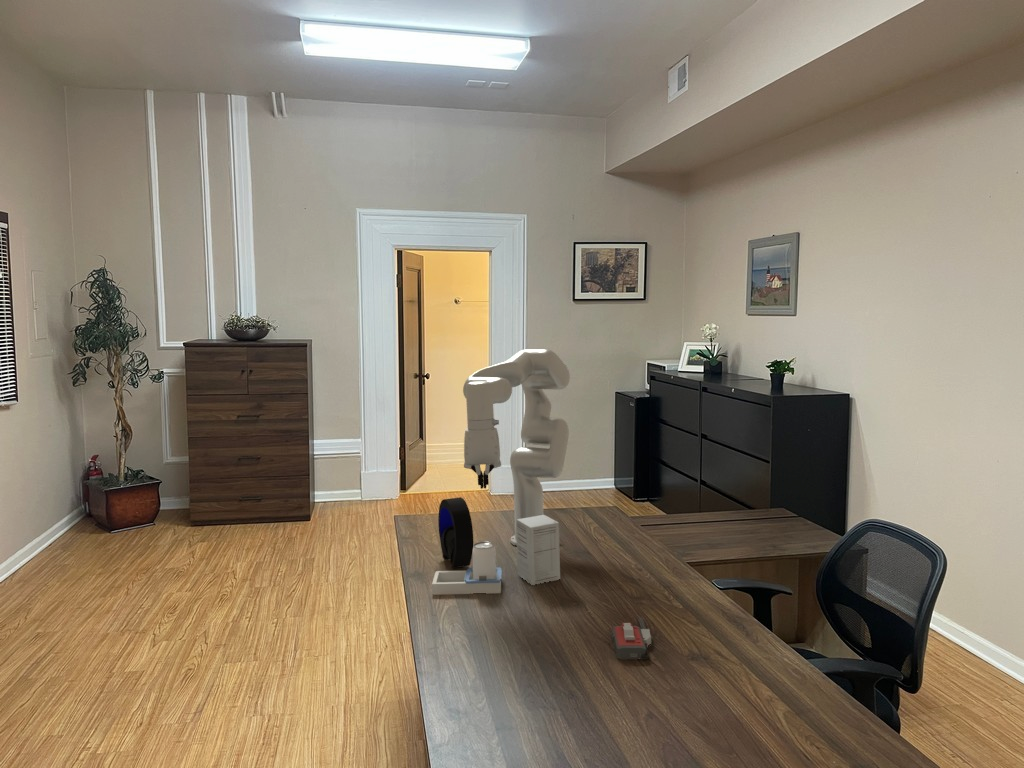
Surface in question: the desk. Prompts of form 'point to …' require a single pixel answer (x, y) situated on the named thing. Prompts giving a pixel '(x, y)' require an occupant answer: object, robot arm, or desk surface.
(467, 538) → the headphones
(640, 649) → the walkie-talkie
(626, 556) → the desk surface
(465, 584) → the block
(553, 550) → the supplement box
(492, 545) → the can
